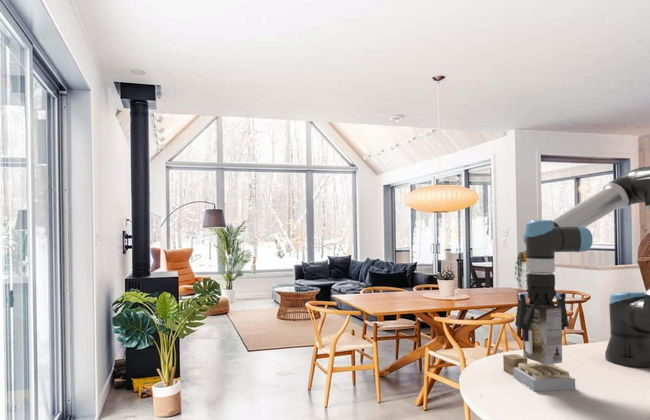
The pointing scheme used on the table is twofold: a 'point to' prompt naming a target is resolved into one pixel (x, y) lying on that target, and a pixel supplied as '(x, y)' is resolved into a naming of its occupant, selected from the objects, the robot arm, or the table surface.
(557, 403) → the table surface
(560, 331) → the coffee box
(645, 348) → the robot arm
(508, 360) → the light brown cube
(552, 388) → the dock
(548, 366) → the pallet
